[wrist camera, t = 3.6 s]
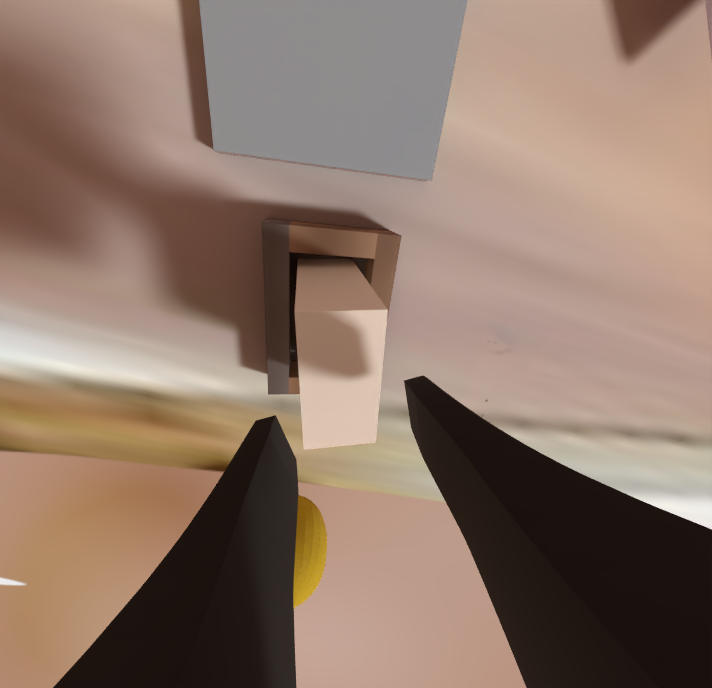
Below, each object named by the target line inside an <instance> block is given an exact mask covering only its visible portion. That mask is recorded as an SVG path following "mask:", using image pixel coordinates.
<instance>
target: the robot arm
mask: <svg viewBox="0 0 712 688" xmlns="http://www.w3.org/2000/svg"><path fill="white" fill-rule="evenodd" d="M705 1H706V11H707V20H708V30H709V39H710V48H711V58H712V0H705ZM404 383H405V390H406V396H407V403H408V409H409V416H410V422H411V428H412V431H413V434H414V436H415V439H416V441H417V444H418V447H419V449H420V452H421V454H422V457H423V459H424V461H425V463H426V465H427V467H428V469H429V470H430V472H431V474H432V476H433V478H434V480H435V482H436V484H437V486H438V488H439V490H440V492H441V493H442V495H443V497H444V499H445V501H446V503H447V505H448V507H449V508H450V511H451V513H452V514H453V516H454V518H455V520H456V522H457V524H458V526H459V528H460V530H461V532H462V534H463V536H464V538H465V540H466V542H467V545H468V547H469V549H470V551H471V554H472V556H473V558H474V561H475V563H476V565H477V568H478V570H479V572H480V575H481V577H482V579H483V582H484V584H485V587H486V589H487V591H488V594H489V596H490V599H491V601H492V603H493V606H494V608H495V611H496V613H497V616H498V618H499V620H500V623H501V625H502V628H503V630H504V632H505V635H506V637H507V640H508V642H509V645H510V647H511V650H512V652H513V655H514V657H515V660H516V662H517V665H518V667H519V670H520V672H521V675H522V677H523V680H524V682H525V685H526V687H527V688H712V529H709V528H707V527H704V526H702V525H699V524H697V523H694V522H692V521H689V520H687V519H684V518H682V517H679V516H677V515H674V514H672V513H669V512H667V511H664V510H662V509H659V508H657V507H654V506H652V505H650V504H647V503H645V502H643V501H640V500H638V499H636V498H634V497H631V496H629V495H627V494H625V493H622V492H620V491H618V490H616V489H614V488H611V487H609V486H607V485H605V484H602V483H600V482H598V481H596V480H594V479H591V478H589V477H587V476H585V475H583V474H580V473H578V472H576V471H574V470H572V469H570V468H568V467H566V466H564V465H562V464H560V463H558V462H556V461H555V460H553V459H551V458H549V457H547V456H545V455H543V454H541V453H539V452H538V451H536V450H534V449H532V448H530V447H529V446H527V445H525V444H523V443H522V442H520V441H518V440H516V439H515V438H513V437H511V436H510V435H508V434H507V433H505V432H503V431H502V430H500V429H498V428H497V427H495V426H494V425H492V424H490V423H489V422H487V421H486V420H484V419H483V418H481V417H480V416H478V415H477V414H475V413H474V412H472V411H471V410H470V409H468V408H467V407H465V406H464V405H462V404H461V403H460V402H458V401H457V400H455V399H454V398H453V397H451V396H450V395H449V394H447V393H446V392H445V391H443V390H442V389H441V388H439V387H438V386H437V385H435V384H434V383H433V382H432V381H430V380H429V379H428V378H426V377H425V376H420V377H416V378H412V379H409V380H405V381H404ZM297 511H298V477H297V463H296V458H295V456H294V454H293V452H292V450H291V447H290V445H289V443H288V441H287V439H286V437H285V434H284V432H283V430H282V428H281V426H280V424H279V422H278V419H277V417H276V415H275V416H271V417H268V418H264V419H260V420H257V421H255V423H254V425H253V426H252V428H251V429H250V431H249V433H248V434H247V436H246V437H245V439H244V441H243V442H242V444H241V446H240V447H239V449H238V451H237V452H236V454H235V456H234V457H233V459H232V461H231V462H230V464H229V465H228V467H227V469H226V470H225V472H224V473H223V475H222V477H221V478H220V480H219V482H218V483H217V484H216V486H215V488H214V489H213V491H212V492H211V494H210V495H209V497H208V498H207V500H206V501H205V503H204V504H203V505H202V507H201V508H200V510H199V511H198V513H197V514H196V516H195V517H194V518H193V520H192V522H191V523H190V524H189V526H188V527H187V529H186V530H185V531H184V533H183V534H182V535H181V537H180V538H179V540H178V541H177V542H176V543H175V545H174V546H173V547H172V549H171V550H170V551H169V553H168V554H167V555H166V556H165V558H164V559H163V560H162V562H161V563H160V564H159V565H158V567H157V568H156V569H155V571H154V572H153V573H152V574H151V576H150V577H149V578H148V579H147V581H146V582H145V583H144V584H143V586H142V587H141V588H140V589H139V590H138V592H137V593H136V594H135V595H134V596H133V597H132V599H131V600H130V601H129V602H128V604H127V605H126V606H125V607H124V608H123V609H122V610H121V612H120V613H119V614H118V615H117V616H116V617H115V618H114V620H113V621H112V622H111V623H110V624H109V626H108V627H107V628H106V629H105V630H104V631H103V633H102V634H101V635H100V636H99V637H98V638H97V639H96V641H95V642H94V643H93V644H92V645H91V646H90V648H89V649H88V650H87V651H86V652H85V653H84V654H83V655H82V657H81V658H80V659H79V660H78V661H77V662H76V663H75V664H74V666H72V668H71V669H70V670H69V671H68V672H67V673H66V674H65V675H64V676H63V677H62V679H61V680H60V681H59V682H58V683H57V684H56V685H55V686H54V687H53V688H296V669H295V643H294V606H293V592H294V565H295V548H296V530H297Z"/></svg>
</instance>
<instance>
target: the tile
mask: <svg viewBox="0 0 712 688" xmlns="http://www.w3.org/2000/svg"><path fill="white" fill-rule="evenodd" d="M199 5H200V15H201V26H202V36H203V46H204V56H205V67H206V77H207V87H208V97H209V108H210V118H211V128H212V139H213V149H214V151H216V152H218V153H223V154H230V155H237V156H245V157H252V158H259V159H267V160H274V161H281V162H288V163H296V164H303V165H310V166H317V167H325V168H332V169H339V170H347V171H354V172H361V173H368V174H376V175H383V176H390V177H398V178H405V179H412V180H419V181H432V177H433V172H434V167H435V162H436V156H437V151H438V146H439V141H440V136H441V131H442V126H443V121H444V116H445V111H446V106H447V101H448V96H449V91H450V86H451V80H452V75H453V70H454V65H455V60H456V55H457V50H458V45H459V40H460V35H461V30H462V25H463V20H464V15H465V10H466V5H467V0H199Z"/></svg>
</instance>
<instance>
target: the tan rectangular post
mask: <svg viewBox="0 0 712 688" xmlns="http://www.w3.org/2000/svg"><path fill="white" fill-rule="evenodd" d="M387 313H388V309H387V308H386V306H385V305H384V304H383V302H382V301H381V299H380V298H379V297H378V295H377V294H376V292H375V291H374V290H373V288H372V287H371V285H370V284H369V283H368V281H367V280H366V278H365V277H364V276H363V274H362V273H361V271H360V270H359V269H358V267H357V266H356V264H355V263H354V262H353V260H352V259H298V267H297V282H296V297H295V326H296V341H297V356H298V370H299V385H300V400H301V415H302V429H303V444H304V450H306V449H316V448H326V447H336V446H346V445H356V444H366V443H376V433H377V422H378V411H379V400H380V389H381V379H382V368H383V357H384V346H385V335H386V324H387Z"/></svg>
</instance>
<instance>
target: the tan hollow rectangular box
mask: <svg viewBox="0 0 712 688" xmlns="http://www.w3.org/2000/svg"><path fill="white" fill-rule="evenodd" d="M262 238H263V264H264V291H265V318H266V345H267V372H268V394H300V385H299V370H298V360H290V295H291V252H296V253H309V254H321V255H334V256H346V257H359V258H366V263H365V271H364V277H365V278H366V280H367V281H368V283H369V284H370V285H371V287H372V288H373V290H374V291H375V292H376V294H377V295H378V297H379V298H380V299H381V301H382V302H383V304H384V305H385V306H386V308H387V309H388V312H389V306H390V300H391V294H392V288H393V283H394V277H395V271H396V265H397V259H398V253H399V247H400V241H401V235H398V234H396V233H394V232H392V231H387V230H377V229H367V228H357V227H347V226H337V225H327V224H316V223H306V222H296V221H286V220H276V219H266V220H264V221H263V222H262ZM387 318H388V313H387Z"/></svg>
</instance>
